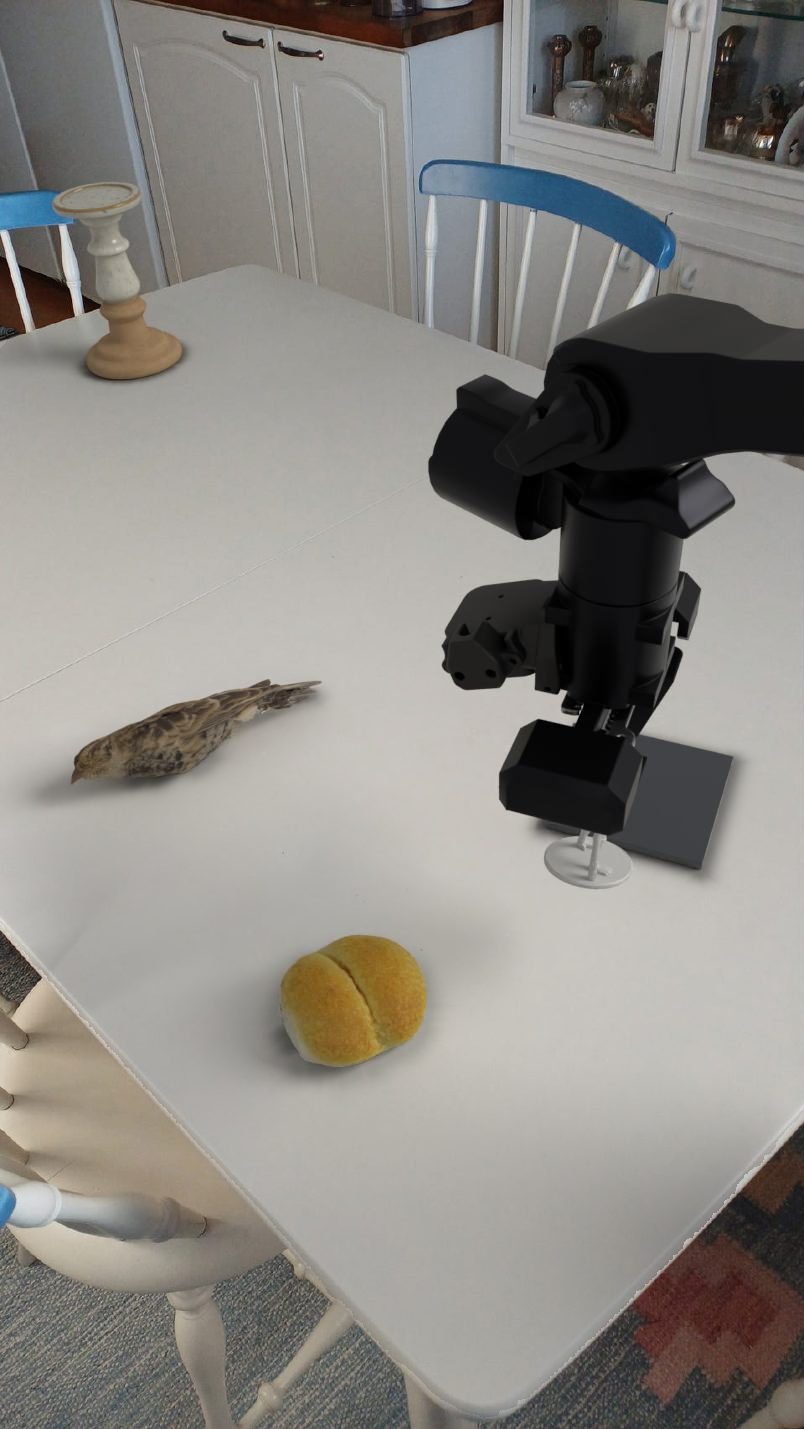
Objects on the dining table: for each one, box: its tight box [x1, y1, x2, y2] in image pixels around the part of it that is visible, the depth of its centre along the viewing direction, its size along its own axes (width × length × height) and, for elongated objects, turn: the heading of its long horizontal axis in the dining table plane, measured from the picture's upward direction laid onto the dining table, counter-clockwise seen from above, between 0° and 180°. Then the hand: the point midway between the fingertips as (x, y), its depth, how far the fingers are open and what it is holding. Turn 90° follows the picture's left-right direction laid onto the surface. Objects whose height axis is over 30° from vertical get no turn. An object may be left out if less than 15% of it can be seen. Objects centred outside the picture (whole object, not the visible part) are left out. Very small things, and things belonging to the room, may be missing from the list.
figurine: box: [543, 709, 634, 890], centre depth 62 cm, size 5×5×12 cm
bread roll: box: [277, 934, 428, 1068], centre depth 66 cm, size 8×9×4 cm
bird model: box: [69, 678, 323, 786], centre depth 83 cm, size 21×6×5 cm
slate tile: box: [545, 733, 734, 870], centre depth 78 cm, size 11×11×1 cm
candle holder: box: [51, 181, 183, 380], centre depth 133 cm, size 12×12×20 cm
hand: (597, 792), depth 63 cm, fingers closed on figurine, 5 cm apart
